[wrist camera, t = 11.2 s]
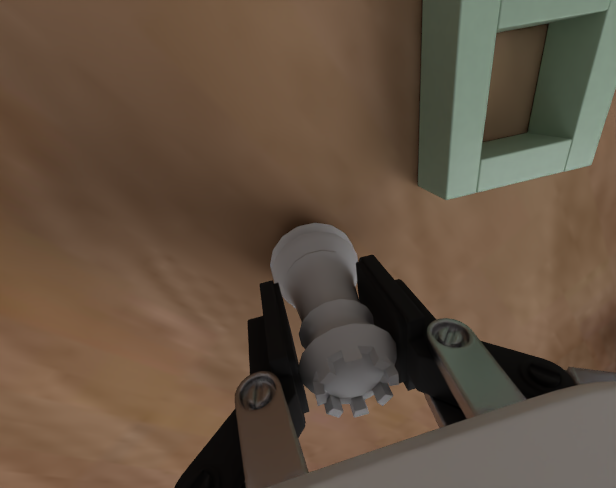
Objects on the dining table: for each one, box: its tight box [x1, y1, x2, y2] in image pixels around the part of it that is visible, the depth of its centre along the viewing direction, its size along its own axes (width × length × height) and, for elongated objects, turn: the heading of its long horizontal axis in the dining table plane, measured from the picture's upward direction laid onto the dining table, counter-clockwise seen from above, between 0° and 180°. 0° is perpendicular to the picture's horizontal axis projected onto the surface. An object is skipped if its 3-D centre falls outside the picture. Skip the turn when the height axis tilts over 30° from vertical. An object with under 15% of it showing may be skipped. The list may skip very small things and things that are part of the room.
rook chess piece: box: [270, 223, 399, 417], centre depth 12 cm, size 4×4×8 cm
